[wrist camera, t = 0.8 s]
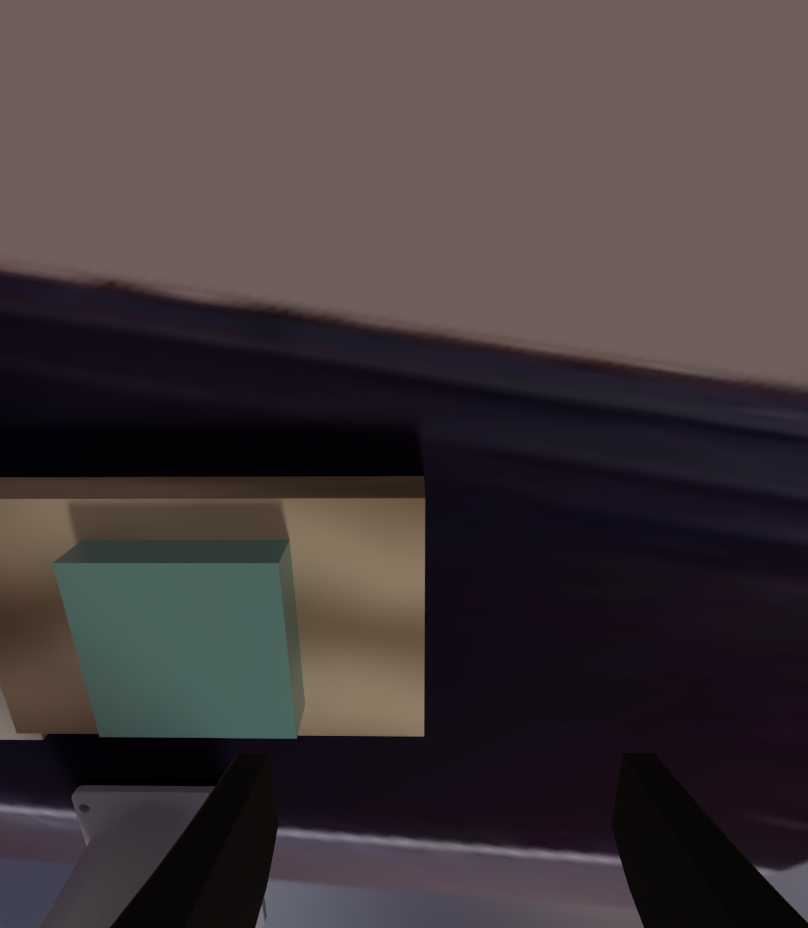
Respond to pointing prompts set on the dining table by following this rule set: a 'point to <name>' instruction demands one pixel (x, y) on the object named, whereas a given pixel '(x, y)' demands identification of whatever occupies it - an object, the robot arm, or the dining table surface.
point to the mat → (12, 725)
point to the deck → (231, 518)
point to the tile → (186, 636)
